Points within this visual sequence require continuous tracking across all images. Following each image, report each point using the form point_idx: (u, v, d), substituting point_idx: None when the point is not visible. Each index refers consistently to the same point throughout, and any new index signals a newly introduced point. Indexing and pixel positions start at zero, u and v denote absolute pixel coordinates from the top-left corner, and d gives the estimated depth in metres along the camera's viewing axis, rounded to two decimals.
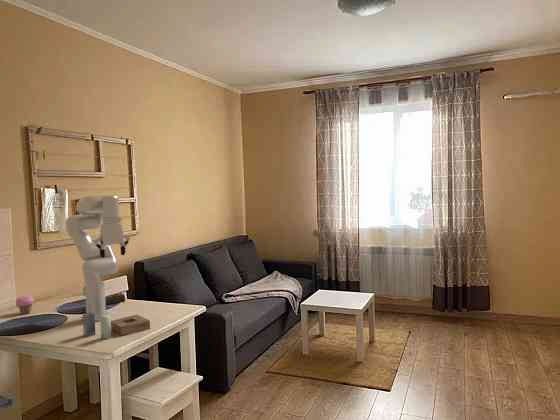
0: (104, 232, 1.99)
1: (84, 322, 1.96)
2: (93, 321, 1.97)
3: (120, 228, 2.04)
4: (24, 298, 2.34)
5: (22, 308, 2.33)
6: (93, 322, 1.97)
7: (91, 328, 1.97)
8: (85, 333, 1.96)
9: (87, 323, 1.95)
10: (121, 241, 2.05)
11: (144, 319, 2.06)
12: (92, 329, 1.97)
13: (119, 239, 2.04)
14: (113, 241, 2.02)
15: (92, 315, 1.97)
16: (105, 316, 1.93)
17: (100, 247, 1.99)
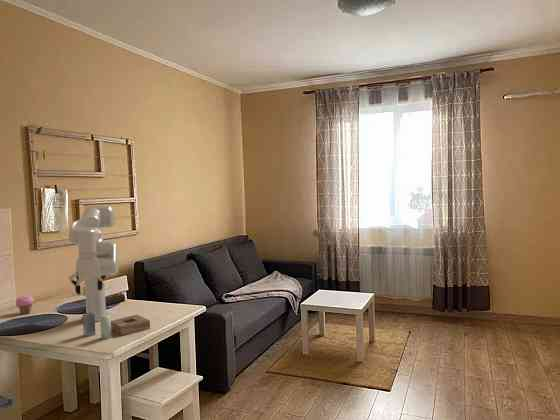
0: (80, 268, 1.92)
1: (84, 322, 1.96)
2: (93, 321, 1.97)
3: (97, 263, 1.97)
4: (24, 298, 2.34)
5: (22, 308, 2.33)
6: (93, 322, 1.97)
7: (91, 328, 1.97)
8: (85, 333, 1.96)
9: (87, 323, 1.95)
10: (98, 276, 1.98)
11: (144, 319, 2.06)
12: (92, 329, 1.97)
13: (96, 274, 1.97)
14: (89, 277, 1.95)
15: (92, 315, 1.97)
16: (105, 316, 1.93)
17: (75, 283, 1.92)
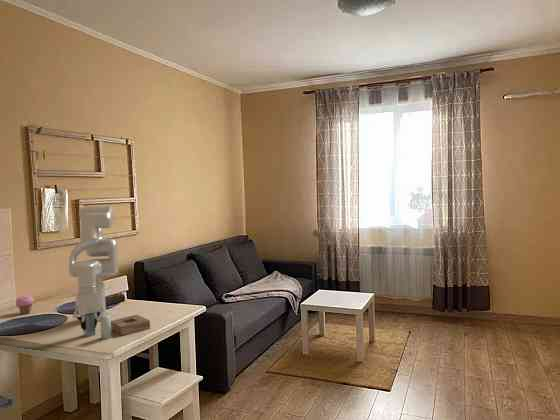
0: (79, 303, 1.93)
1: None
2: (93, 321, 1.97)
3: (96, 297, 1.98)
4: (24, 298, 2.34)
5: (22, 308, 2.33)
6: (93, 322, 1.97)
7: (91, 328, 1.97)
8: (85, 333, 1.96)
9: (87, 323, 1.95)
10: (97, 310, 1.98)
11: (144, 319, 2.06)
12: (92, 329, 1.97)
13: (95, 308, 1.97)
14: (89, 311, 1.96)
15: (92, 315, 1.97)
16: (105, 316, 1.93)
17: (81, 320, 1.94)
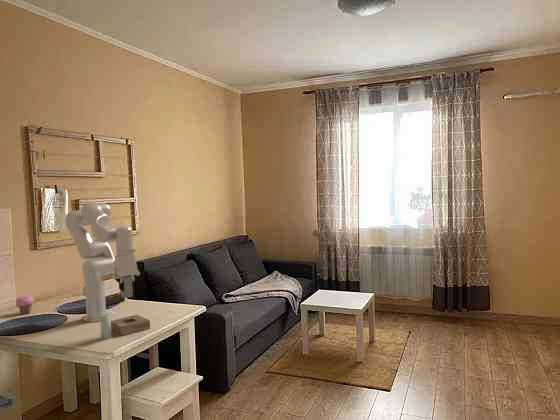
0: (118, 264, 1.99)
1: None
2: (130, 283, 2.03)
3: (134, 260, 2.04)
4: (24, 298, 2.34)
5: (22, 308, 2.33)
6: (130, 284, 2.03)
7: (129, 290, 2.03)
8: (123, 294, 2.02)
9: (125, 284, 2.01)
10: (135, 272, 2.04)
11: (144, 319, 2.06)
12: (130, 290, 2.03)
13: (133, 271, 2.04)
14: (126, 273, 2.02)
15: (130, 277, 2.03)
16: (105, 316, 1.93)
17: (119, 281, 2.01)
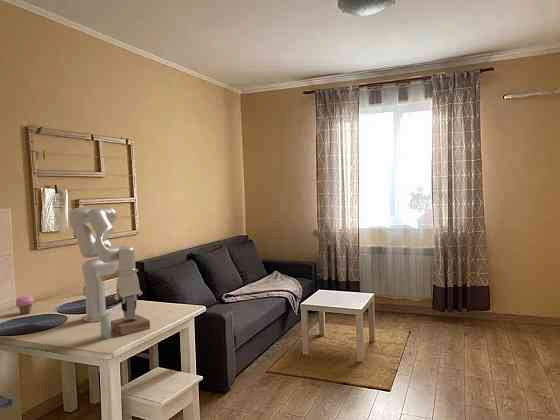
0: (121, 285, 2.00)
1: None
2: (133, 303, 2.04)
3: (136, 280, 2.05)
4: (24, 298, 2.34)
5: (22, 308, 2.33)
6: (133, 304, 2.04)
7: (132, 310, 2.04)
8: (126, 314, 2.03)
9: (128, 305, 2.02)
10: (137, 292, 2.05)
11: (144, 319, 2.06)
12: (132, 310, 2.04)
13: (135, 291, 2.05)
14: (129, 293, 2.03)
15: (132, 297, 2.04)
16: (105, 316, 1.93)
17: None
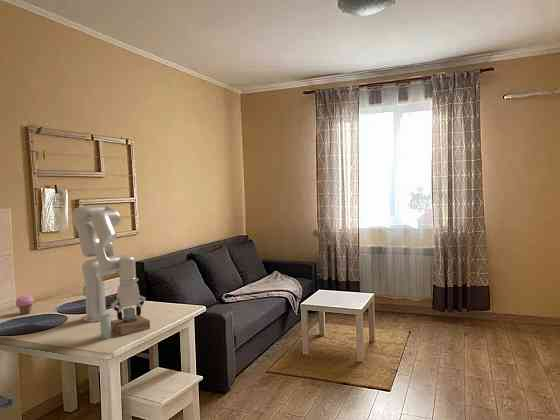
0: (121, 295, 2.00)
1: (125, 316, 2.03)
2: (133, 315, 2.04)
3: (137, 289, 2.05)
4: (24, 298, 2.34)
5: (22, 308, 2.33)
6: (133, 316, 2.04)
7: None
8: None
9: (128, 317, 2.03)
10: (137, 302, 2.06)
11: (144, 319, 2.06)
12: None
13: (136, 300, 2.05)
14: (129, 303, 2.03)
15: (132, 310, 2.04)
16: (105, 316, 1.93)
17: (117, 310, 2.00)
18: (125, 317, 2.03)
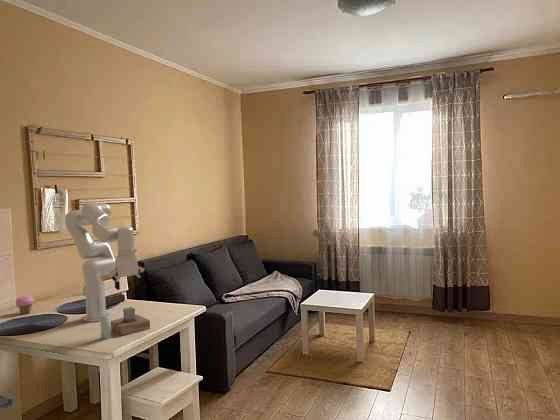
0: (119, 264, 1.99)
1: (125, 316, 2.03)
2: (133, 315, 2.04)
3: (135, 260, 2.04)
4: (24, 298, 2.34)
5: (22, 308, 2.33)
6: (133, 316, 2.04)
7: None
8: None
9: (128, 317, 2.03)
10: (136, 272, 2.05)
11: (144, 319, 2.06)
12: None
13: (134, 271, 2.04)
14: (128, 273, 2.02)
15: (132, 310, 2.04)
16: (105, 316, 1.93)
17: (115, 279, 1.99)
18: (125, 317, 2.03)
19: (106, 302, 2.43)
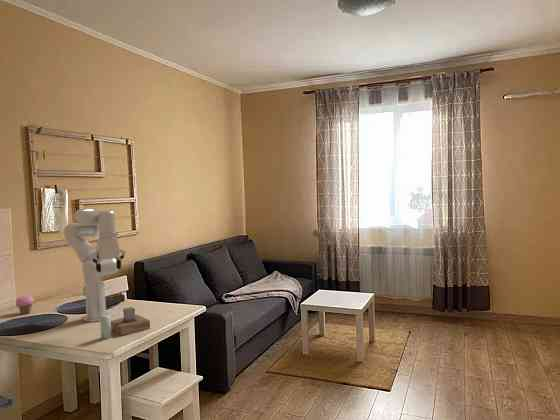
0: (100, 247, 2.03)
1: (125, 316, 2.03)
2: (133, 315, 2.04)
3: (116, 243, 2.08)
4: (24, 298, 2.34)
5: (22, 308, 2.33)
6: (133, 316, 2.04)
7: None
8: None
9: (128, 317, 2.03)
10: (117, 255, 2.08)
11: (144, 319, 2.06)
12: None
13: (115, 254, 2.07)
14: (109, 256, 2.05)
15: (132, 310, 2.04)
16: (105, 316, 1.93)
17: (96, 262, 2.03)
18: (125, 317, 2.03)
19: (107, 302, 2.43)
